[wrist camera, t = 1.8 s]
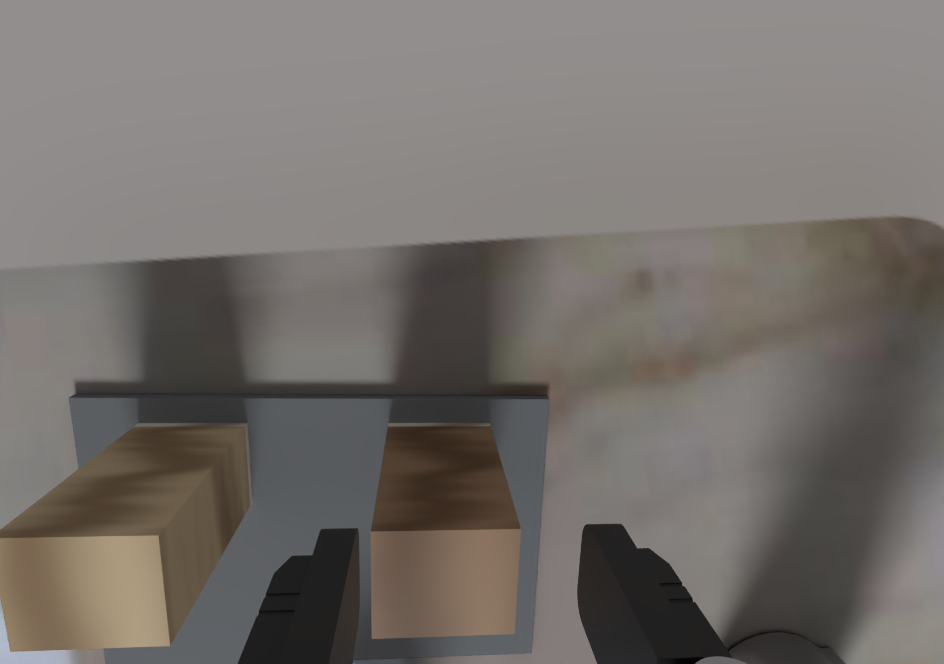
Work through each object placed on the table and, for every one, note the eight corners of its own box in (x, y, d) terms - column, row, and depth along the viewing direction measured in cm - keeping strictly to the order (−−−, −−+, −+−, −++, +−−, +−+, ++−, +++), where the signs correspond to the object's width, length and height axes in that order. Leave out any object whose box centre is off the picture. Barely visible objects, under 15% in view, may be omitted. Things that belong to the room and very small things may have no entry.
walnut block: (489, 422, 33) (521, 529, 22) (486, 498, 34) (514, 634, 23) (388, 423, 32) (370, 531, 22) (388, 500, 34) (371, 638, 23)
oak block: (247, 423, 32) (158, 535, 21) (252, 501, 33) (170, 645, 22) (137, 423, 31) (-11, 538, 21) (146, 503, 32) (10, 651, 22)
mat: (546, 395, 34) (549, 399, 33) (529, 646, 38) (531, 653, 37) (75, 394, 31) (68, 397, 31) (111, 661, 35) (106, 669, 35)
